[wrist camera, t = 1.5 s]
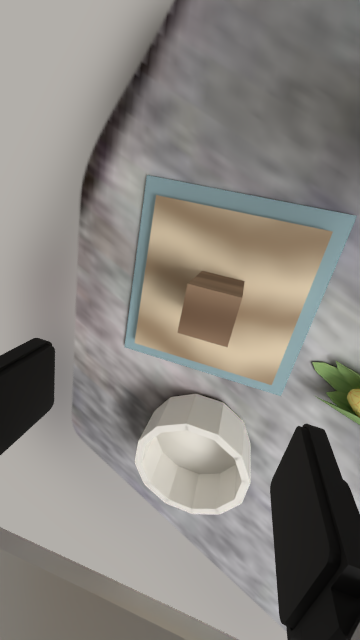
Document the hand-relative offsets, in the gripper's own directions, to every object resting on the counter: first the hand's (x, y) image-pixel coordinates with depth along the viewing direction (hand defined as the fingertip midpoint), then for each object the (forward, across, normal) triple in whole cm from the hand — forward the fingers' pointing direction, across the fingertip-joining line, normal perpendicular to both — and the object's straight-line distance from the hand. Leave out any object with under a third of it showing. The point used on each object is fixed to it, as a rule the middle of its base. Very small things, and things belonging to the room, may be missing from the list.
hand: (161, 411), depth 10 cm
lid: (+18, 0, 0) cm, 18 cm away
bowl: (+18, -2, +18) cm, 26 cm away
